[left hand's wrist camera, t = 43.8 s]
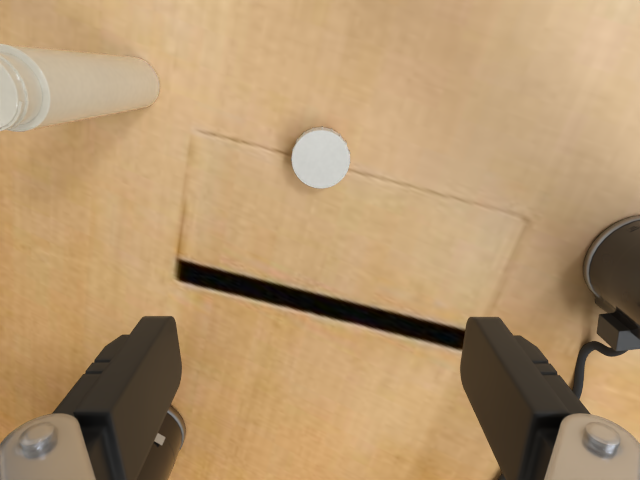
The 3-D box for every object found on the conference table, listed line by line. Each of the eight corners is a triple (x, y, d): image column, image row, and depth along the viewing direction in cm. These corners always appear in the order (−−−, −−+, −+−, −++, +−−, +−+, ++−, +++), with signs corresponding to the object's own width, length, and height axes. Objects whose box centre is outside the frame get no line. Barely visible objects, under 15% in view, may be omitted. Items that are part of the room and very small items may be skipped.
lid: (353, 130, 37) (355, 133, 35) (344, 186, 39) (345, 192, 37) (295, 122, 37) (294, 125, 35) (289, 179, 39) (287, 185, 37)
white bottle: (105, 96, 36) (-74, 115, 20) (116, 47, 35) (-67, 23, 18) (152, 116, 37) (17, 150, 20) (165, 69, 36) (31, 64, 19)
